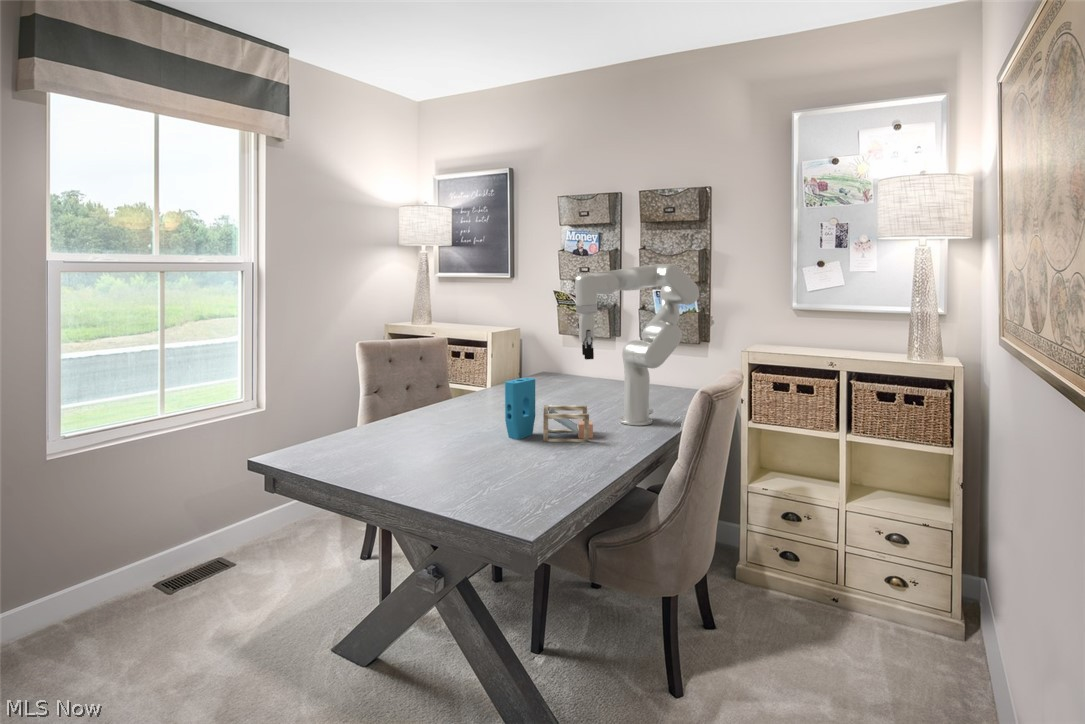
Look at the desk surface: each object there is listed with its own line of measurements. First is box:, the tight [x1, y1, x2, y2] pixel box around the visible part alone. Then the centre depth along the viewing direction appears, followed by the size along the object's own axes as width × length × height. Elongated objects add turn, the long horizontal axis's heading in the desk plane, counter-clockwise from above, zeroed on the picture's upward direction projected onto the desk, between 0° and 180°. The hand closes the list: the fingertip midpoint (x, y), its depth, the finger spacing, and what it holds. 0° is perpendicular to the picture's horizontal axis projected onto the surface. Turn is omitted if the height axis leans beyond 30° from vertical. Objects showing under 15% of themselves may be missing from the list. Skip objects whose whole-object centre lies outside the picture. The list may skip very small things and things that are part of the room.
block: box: [504, 377, 536, 440], centre depth 224 cm, size 12×5×20 cm, turn 143°
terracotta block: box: [577, 420, 594, 439], centre depth 225 cm, size 5×5×5 cm
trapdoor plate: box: [548, 407, 578, 435], centre depth 225 cm, size 12×10×1 cm
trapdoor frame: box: [542, 405, 590, 443], centre depth 225 cm, size 16×14×10 cm
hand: (587, 357), depth 230 cm, fingers open, 9 cm apart
